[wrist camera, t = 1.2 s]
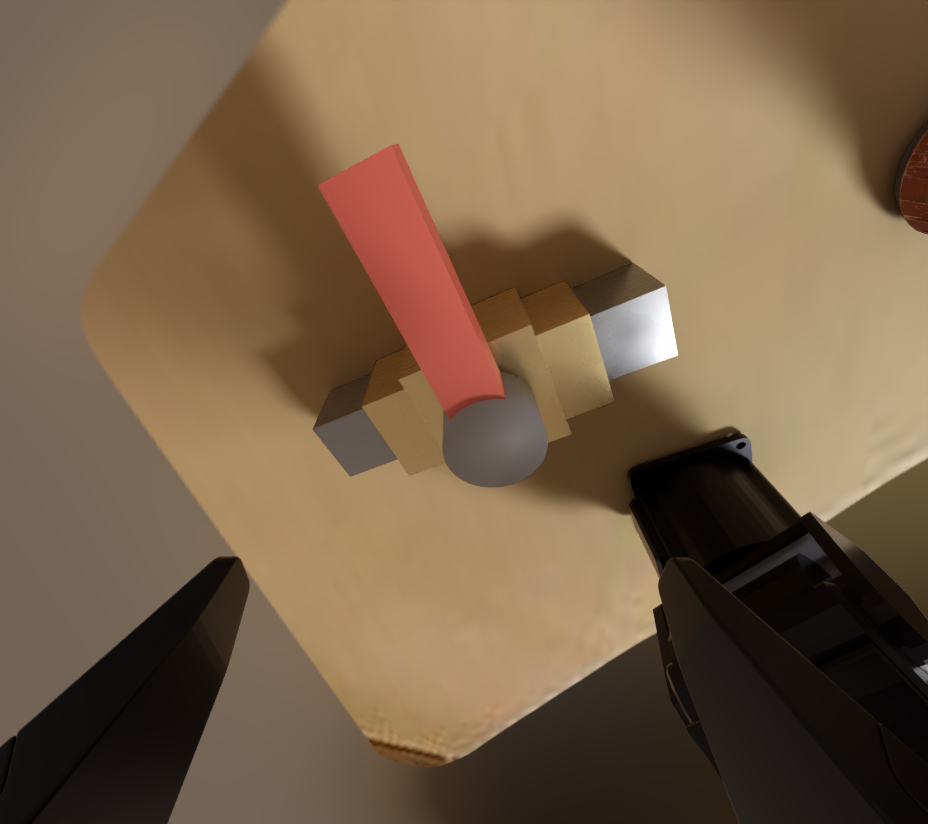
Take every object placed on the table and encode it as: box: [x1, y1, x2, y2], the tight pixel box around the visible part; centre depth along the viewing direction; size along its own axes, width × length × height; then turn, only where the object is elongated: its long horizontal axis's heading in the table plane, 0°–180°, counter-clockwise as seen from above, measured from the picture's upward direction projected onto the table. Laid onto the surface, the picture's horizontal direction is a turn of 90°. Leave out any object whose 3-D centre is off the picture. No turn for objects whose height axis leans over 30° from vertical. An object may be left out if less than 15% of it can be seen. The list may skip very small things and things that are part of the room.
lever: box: [318, 144, 548, 487], centre depth 13 cm, size 11×4×2 cm, turn 24°
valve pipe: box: [313, 263, 678, 477], centre depth 18 cm, size 15×5×4 cm, turn 114°
